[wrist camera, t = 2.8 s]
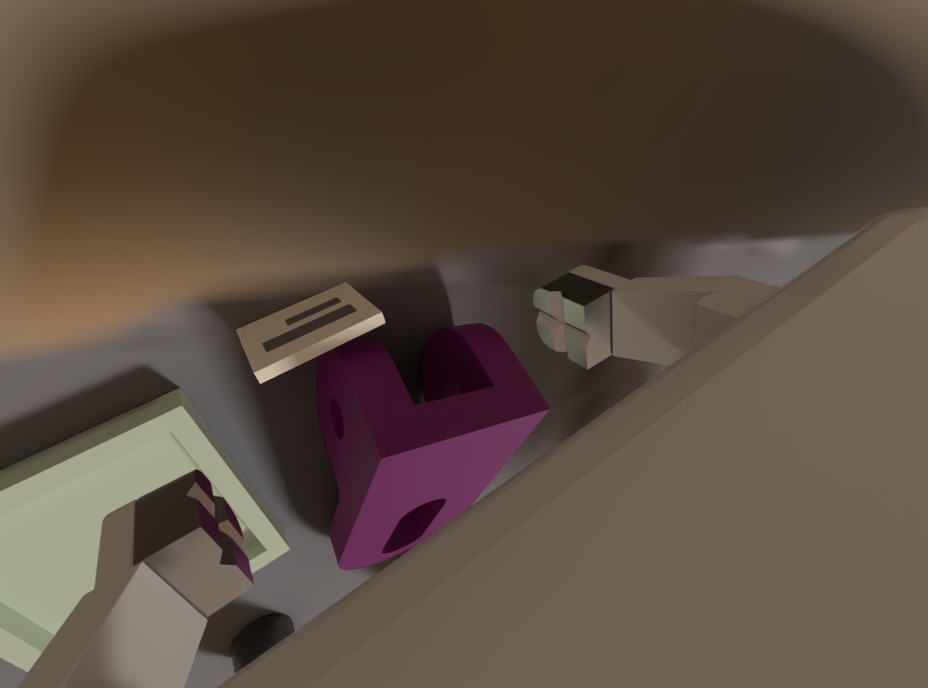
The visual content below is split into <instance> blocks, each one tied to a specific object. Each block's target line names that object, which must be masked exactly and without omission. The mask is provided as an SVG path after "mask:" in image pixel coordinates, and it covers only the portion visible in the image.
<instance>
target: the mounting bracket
mask: <svg viewBox="0 0 928 688" xmlns="http://www.w3.org/2000/svg"><path fill="white" fill-rule="evenodd" d="M316 388H317V408H318V415H319V420H320V425H321V430H322V435H323V439H324V442H325V446H326V449H327V453H328V456H329V459H330V462H331V465H332V468H333V471H334V474H335V477H336V480H337V483H338V488H339V501H338V505H337V508H336V511H335V514H334V517H333V521H332V524H331V527H330V531H329V535H330V538H331V542H332V545H333V548H334V552H335V555H336V558H337V562H338V565H339V567H340V568H341V569H344V570H353V569H359V568H363V567H367V566H370V565H374V564H377V563H379V562H382V561H385V560H387V559H390V558H392V557H395V556H397V555H399V554H401V553H403V552H406V551H408V550H410V549H412V548H413V547H415V546H416V545H417V544H419V543H420V542H422V541H423V540H424V539H426V538H427V537H429V536H430V535H431V534H433V533H434V532H436V531H437V530H438V529H440V528H441V527H443V526H444V525H445V524H447V523H448V522H450V521H451V520H453V519H454V518H455V517H457V516H458V515H460V514H461V513H462V512H464V511H465V510H467V509H468V508H469V507H470V506H471V505H472V504H473V502H474V501H475V500H476V499H477V498H478V496H479V495H480V494H481V493H482V492H483V490H484V489H485V488H486V487H487V485H488V484H489V483H490V482H491V481H492V479H493V478H494V477H495V476H496V475H497V473H498V472H499V471H500V470H501V468H502V467H503V466H504V465H505V464H506V462H507V461H508V460H509V459H510V457H511V456H512V455H513V454H514V453H515V451H516V450H517V449H518V448H519V447H520V445H521V444H522V443H523V442H524V440H525V439H526V438H527V437H528V436H529V434H530V433H531V432H532V431H533V429H534V428H535V427H536V426H537V425H538V423H539V422H540V421H541V420H542V419H543V417H544V416H545V415H546V414H547V412H548V411H549V410H550V408H549V406H548V405H547V403H546V402H545V400H544V399H543V397H542V396H541V394H540V393H539V391H538V390H537V388H536V387H535V385H534V384H533V382H532V381H531V379H530V378H529V376H528V375H527V373H526V372H525V370H524V368H523V367H522V365H521V364H520V362H519V361H518V359H517V358H516V356H515V355H514V353H513V352H512V350H511V349H510V347H509V346H508V344H507V343H506V341H505V340H504V339H503V338H502V336H501V335H500V334H499V333H498V332H497V331H495V330H494V329H493V328H491V327H489V326H487V325H485V324H480V323H475V324H468V325H461V326H454V327H446V328H441V329H438V330H436V331H435V332H433V333H432V334H431V336H430V337H429V338H428V340H427V342H426V345H425V348H424V360H423V374H422V389H423V395H424V400H425V403H422V404H418V405H414V404H413V402H412V399H411V397H410V395H409V393H408V391H407V389H406V387H405V385H404V382H403V380H402V378H401V376H400V374H399V372H398V370H397V368H396V366H395V364H394V362H393V360H392V358H391V356H390V354H389V353H388V351H387V350H386V348H385V347H384V346H383V345H382V344H381V343H380V342H379V341H377V340H376V339H373V338H367V339H360V340H353V341H348V342H346V343H344V344H341V345H339V346H337V347H335V348H333V349H331V350H329V351H327V352H325V353H323V354H321V355H319V356H317V359H316Z"/></svg>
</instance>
